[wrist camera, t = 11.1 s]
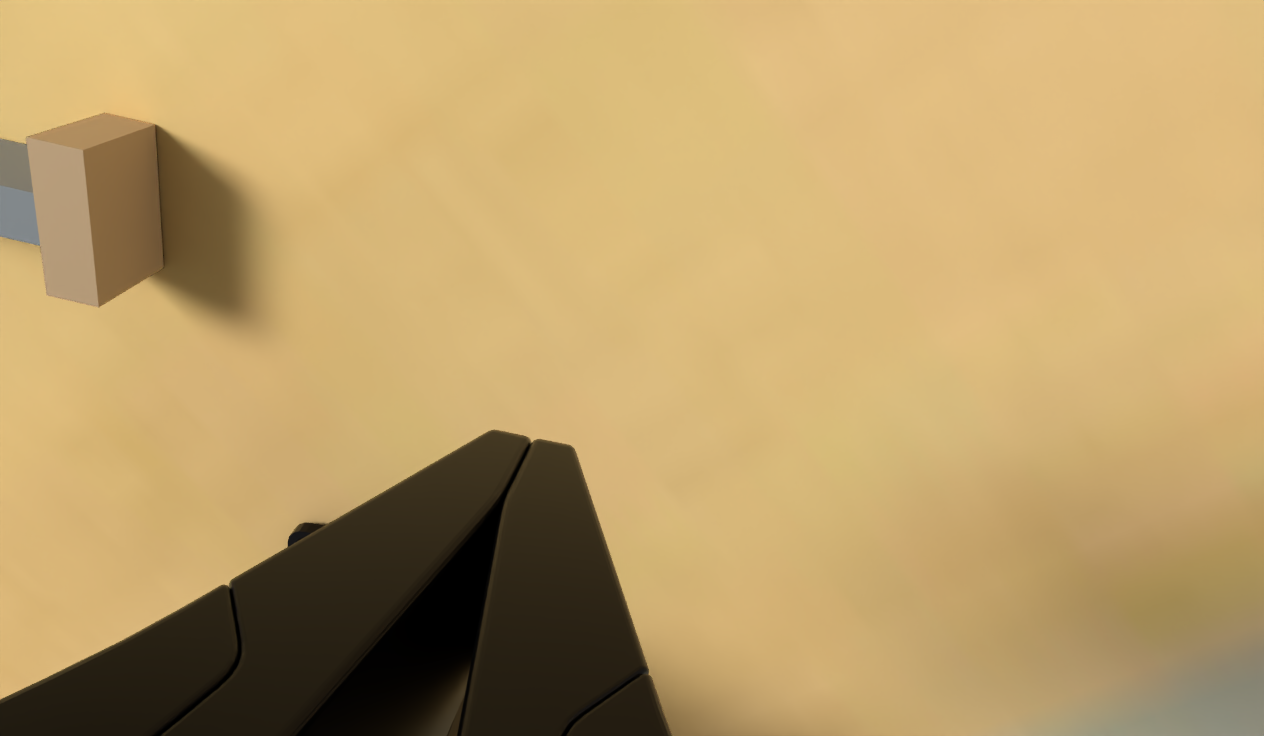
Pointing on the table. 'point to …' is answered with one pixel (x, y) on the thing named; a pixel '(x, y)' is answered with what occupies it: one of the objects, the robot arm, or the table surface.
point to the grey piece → (86, 205)
